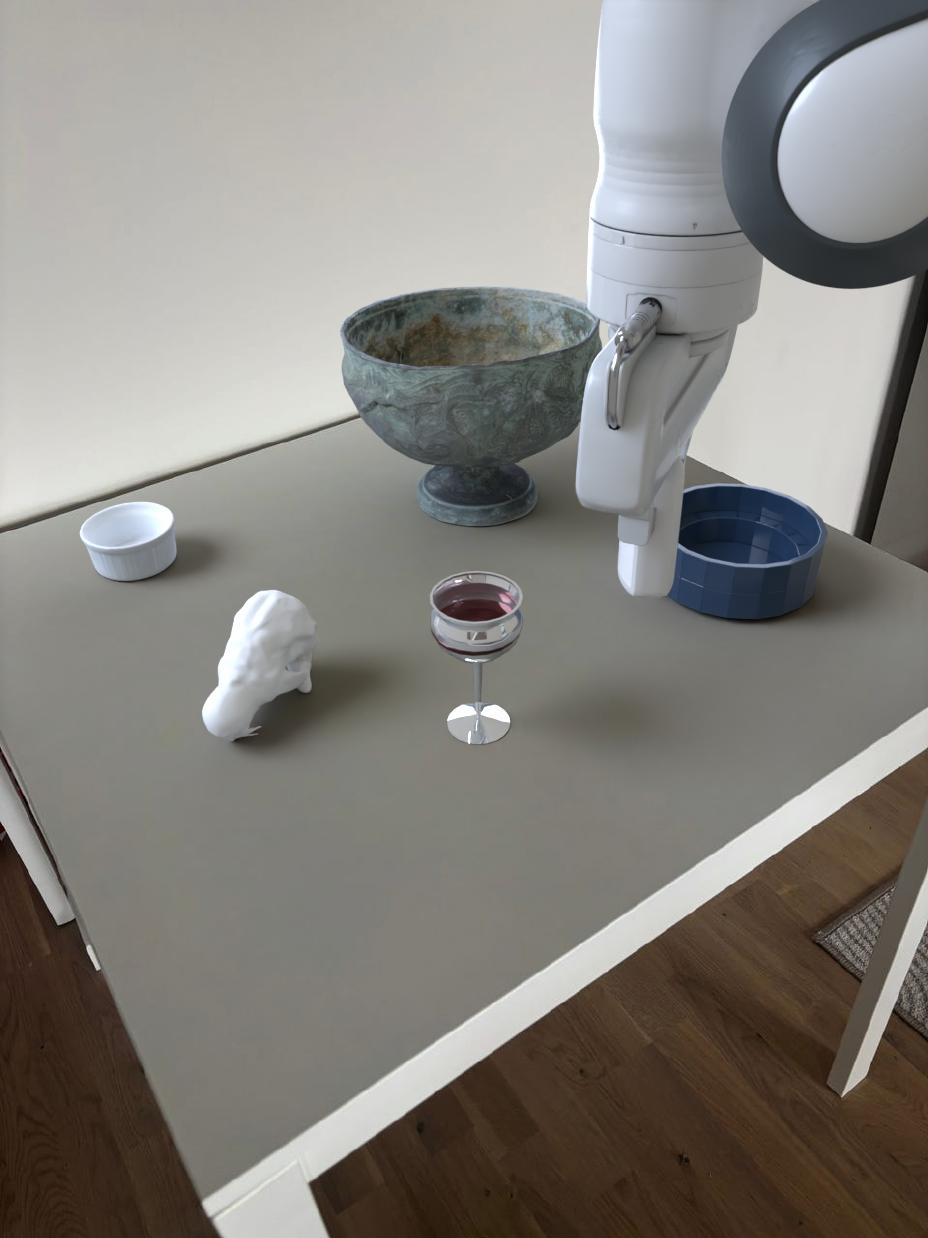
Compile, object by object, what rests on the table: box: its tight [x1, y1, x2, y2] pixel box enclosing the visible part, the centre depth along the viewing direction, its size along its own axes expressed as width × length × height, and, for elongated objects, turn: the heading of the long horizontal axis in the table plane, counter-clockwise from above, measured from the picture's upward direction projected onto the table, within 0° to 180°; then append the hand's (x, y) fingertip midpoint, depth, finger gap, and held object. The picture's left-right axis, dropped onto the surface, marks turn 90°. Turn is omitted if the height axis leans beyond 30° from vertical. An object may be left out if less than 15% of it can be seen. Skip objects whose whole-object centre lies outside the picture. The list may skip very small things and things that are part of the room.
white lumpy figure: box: [201, 589, 319, 742], centre depth 76 cm, size 6×8×12 cm
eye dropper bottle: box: [617, 455, 686, 598], centre depth 57 cm, size 4×6×12 cm
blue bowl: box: [666, 482, 828, 620], centre depth 90 cm, size 15×15×6 cm
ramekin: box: [79, 501, 178, 582], centre depth 96 cm, size 9×9×4 cm
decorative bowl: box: [339, 285, 603, 527], centre depth 100 cm, size 26×26×20 cm
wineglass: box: [429, 570, 524, 745], centre depth 73 cm, size 7×7×12 cm
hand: (651, 509), depth 58 cm, fingers closed on eye dropper bottle, 5 cm apart
